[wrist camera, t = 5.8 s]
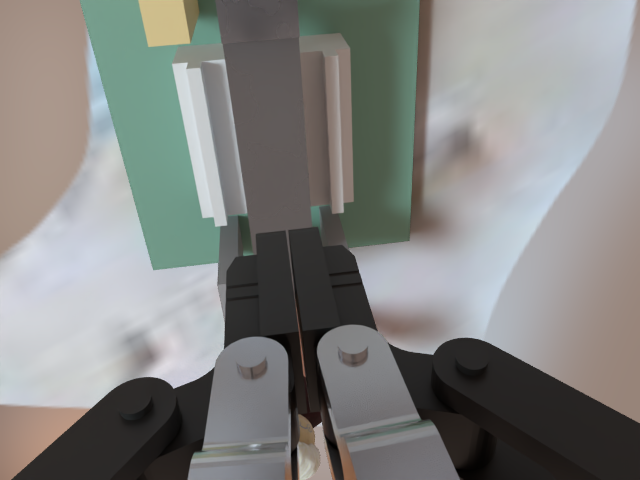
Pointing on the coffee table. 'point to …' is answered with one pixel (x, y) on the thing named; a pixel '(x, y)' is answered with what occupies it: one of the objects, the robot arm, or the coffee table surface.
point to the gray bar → (268, 111)
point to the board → (169, 142)
